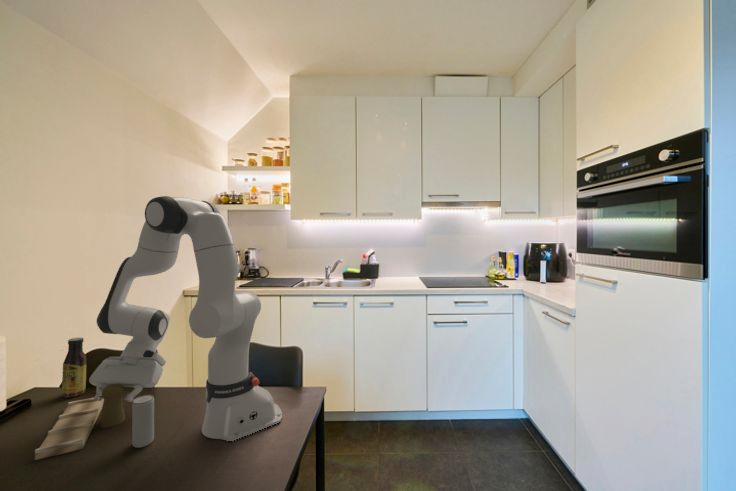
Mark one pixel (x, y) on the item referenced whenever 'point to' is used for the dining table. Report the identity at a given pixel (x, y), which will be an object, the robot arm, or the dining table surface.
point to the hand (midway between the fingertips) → (112, 400)
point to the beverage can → (142, 421)
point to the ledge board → (71, 428)
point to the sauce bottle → (74, 369)
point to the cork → (112, 406)
